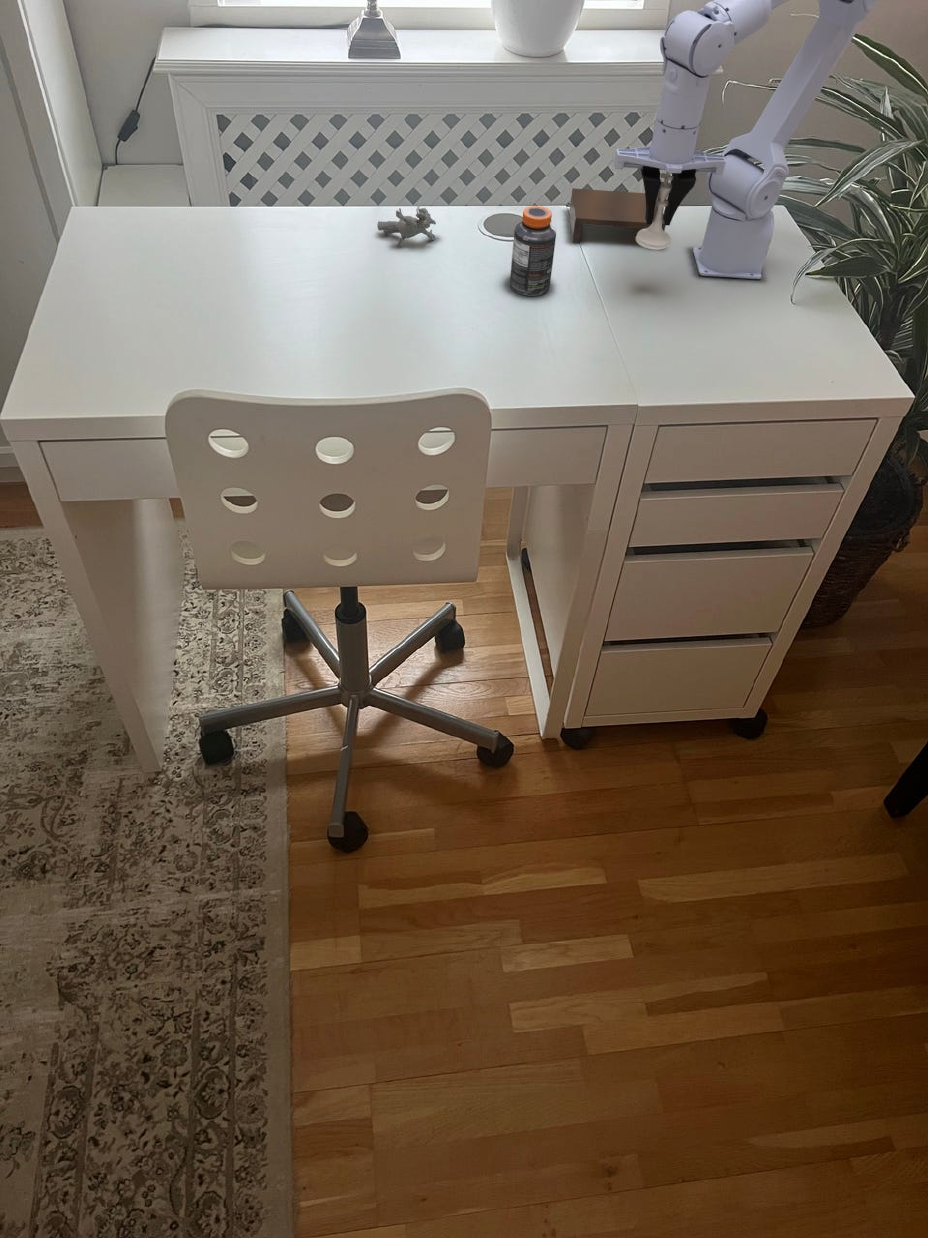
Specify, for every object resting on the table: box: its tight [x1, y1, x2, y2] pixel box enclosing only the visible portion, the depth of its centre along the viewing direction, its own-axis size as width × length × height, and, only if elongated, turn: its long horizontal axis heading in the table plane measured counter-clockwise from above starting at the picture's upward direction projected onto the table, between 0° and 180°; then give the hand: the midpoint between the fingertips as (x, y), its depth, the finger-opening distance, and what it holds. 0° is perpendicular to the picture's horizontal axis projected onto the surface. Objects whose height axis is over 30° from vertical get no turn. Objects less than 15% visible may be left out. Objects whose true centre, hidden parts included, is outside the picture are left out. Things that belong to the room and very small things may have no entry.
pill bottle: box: [509, 205, 557, 297], centre depth 137 cm, size 6×6×11 cm
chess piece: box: [635, 171, 674, 251], centre depth 134 cm, size 5×5×10 cm
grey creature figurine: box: [377, 203, 437, 247], centre depth 146 cm, size 10×6×9 cm
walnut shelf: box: [568, 188, 667, 244], centre depth 153 cm, size 14×10×4 cm
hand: (657, 221), depth 135 cm, fingers closed on chess piece
